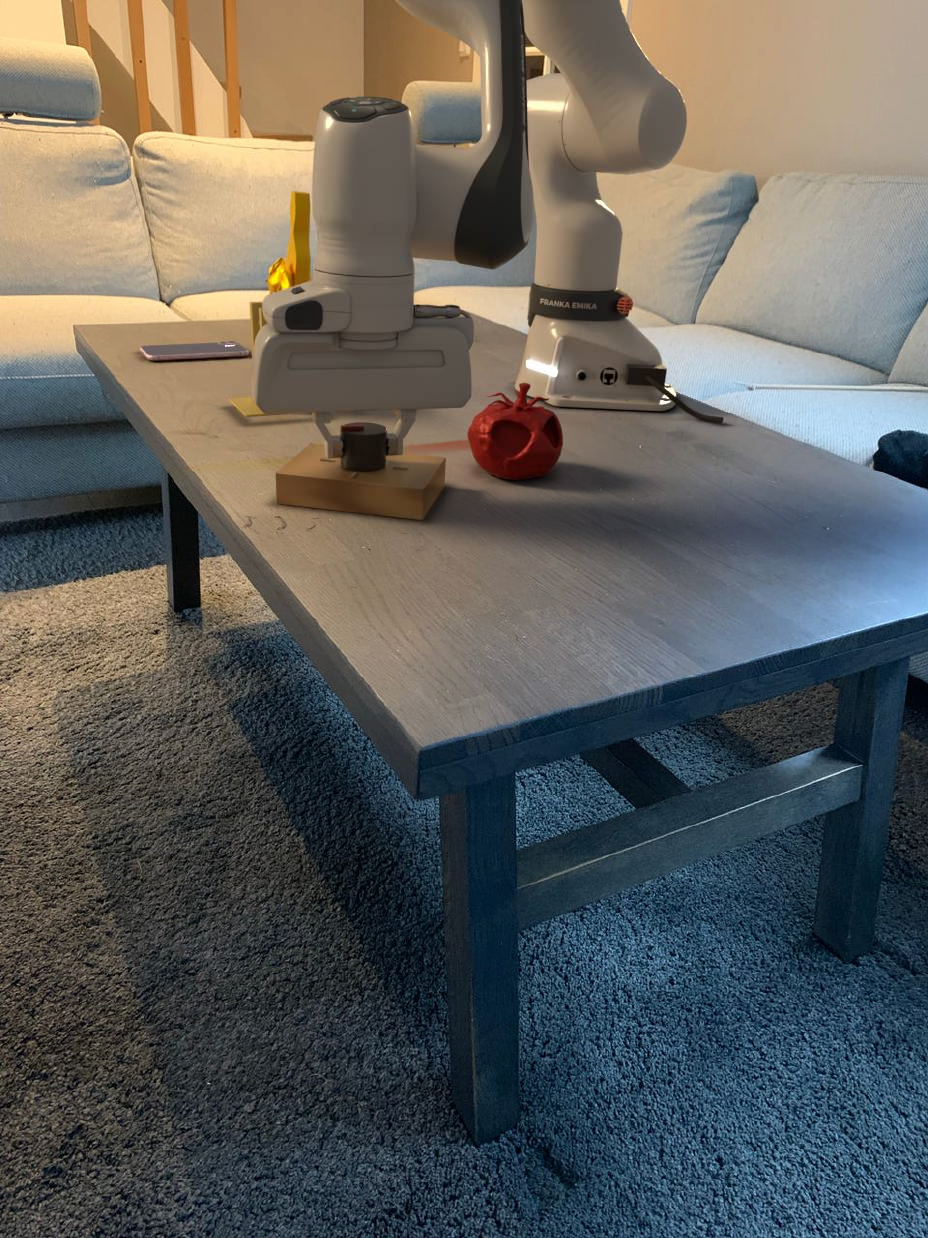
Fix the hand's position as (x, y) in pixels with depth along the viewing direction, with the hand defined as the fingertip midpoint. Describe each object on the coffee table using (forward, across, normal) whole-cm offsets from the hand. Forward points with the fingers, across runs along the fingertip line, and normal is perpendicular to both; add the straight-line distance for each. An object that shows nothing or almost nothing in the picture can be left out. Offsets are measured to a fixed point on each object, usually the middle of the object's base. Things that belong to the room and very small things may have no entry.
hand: (363, 455), depth 92 cm
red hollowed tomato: (+4, -17, -4) cm, 18 cm away
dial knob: (+1, 0, 0) cm, 1 cm away
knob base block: (+4, 0, 0) cm, 4 cm away
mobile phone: (+4, +11, -65) cm, 66 cm away
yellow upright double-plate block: (+4, +4, -30) cm, 31 cm away
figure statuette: (+4, -6, -82) cm, 82 cm away
